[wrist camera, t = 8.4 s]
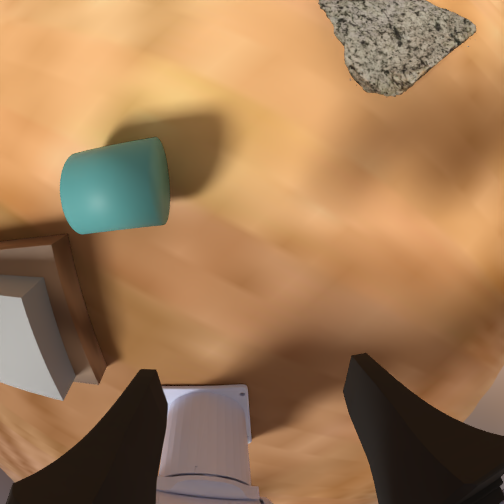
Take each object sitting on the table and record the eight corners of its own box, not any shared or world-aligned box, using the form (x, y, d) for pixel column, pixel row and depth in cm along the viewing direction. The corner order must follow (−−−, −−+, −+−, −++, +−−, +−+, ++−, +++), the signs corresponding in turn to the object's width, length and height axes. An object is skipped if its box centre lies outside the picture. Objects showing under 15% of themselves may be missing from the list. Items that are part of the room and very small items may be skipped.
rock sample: (367, -74, 7) (485, -17, 5) (409, -10, 13) (493, 56, 11) (263, 14, 14) (346, 92, 11) (326, 59, 20) (394, 135, 17)
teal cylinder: (147, 124, 13) (61, 143, 12) (149, 223, 13) (61, 234, 13) (168, 150, 17) (98, 162, 17) (172, 226, 18) (100, 234, 17)
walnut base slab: (108, 362, 23) (98, 384, 20) (16, 351, 22) (3, 368, 19) (71, 231, 18) (51, 244, 16) (-22, 242, 18) (-42, 254, 15)
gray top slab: (75, 376, 19) (63, 400, 17) (4, 359, 19) (-11, 378, 16) (43, 277, 16) (21, 297, 14) (-28, 272, 16) (-49, 287, 13)
